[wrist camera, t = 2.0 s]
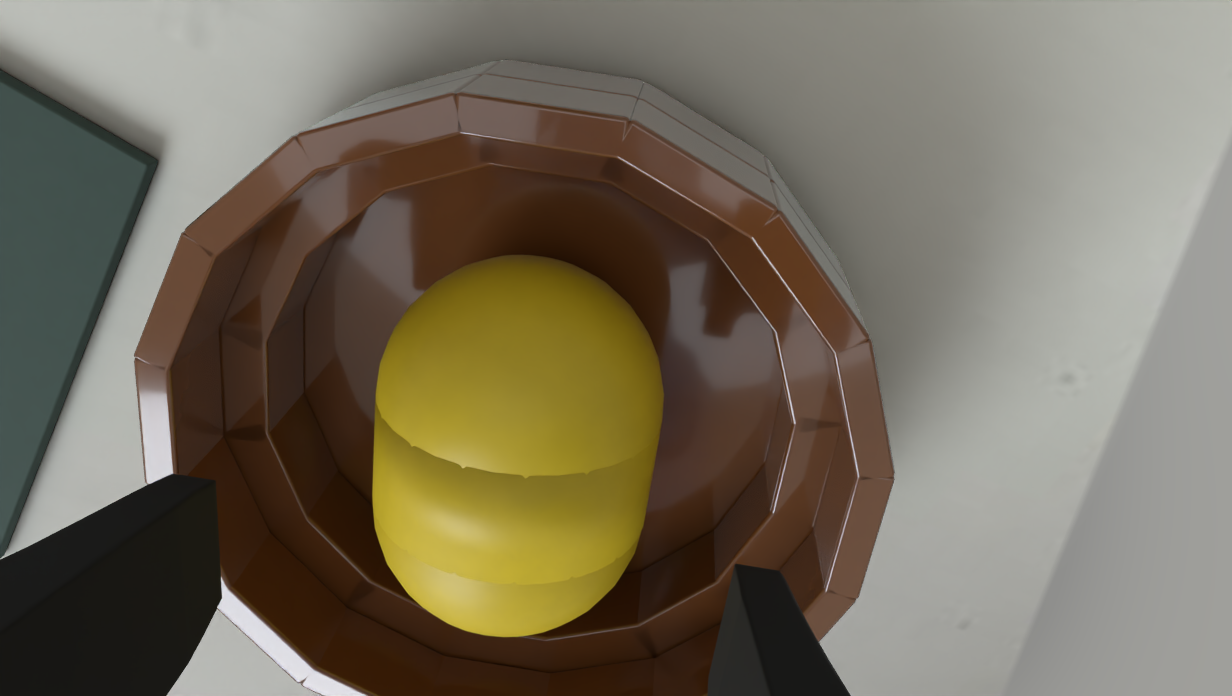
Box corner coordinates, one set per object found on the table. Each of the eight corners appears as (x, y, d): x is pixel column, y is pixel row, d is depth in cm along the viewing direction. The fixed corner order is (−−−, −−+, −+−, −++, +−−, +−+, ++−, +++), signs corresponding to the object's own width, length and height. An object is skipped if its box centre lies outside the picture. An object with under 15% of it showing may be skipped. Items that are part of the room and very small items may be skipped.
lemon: (633, 545, 20) (616, 721, 15) (410, 510, 20) (329, 673, 16) (687, 241, 17) (683, 349, 13) (426, 201, 17) (333, 295, 13)
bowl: (779, 655, 21) (796, 804, 18) (253, 569, 22) (162, 700, 18) (924, 117, 16) (989, 172, 13) (234, 13, 16) (103, 37, 13)
